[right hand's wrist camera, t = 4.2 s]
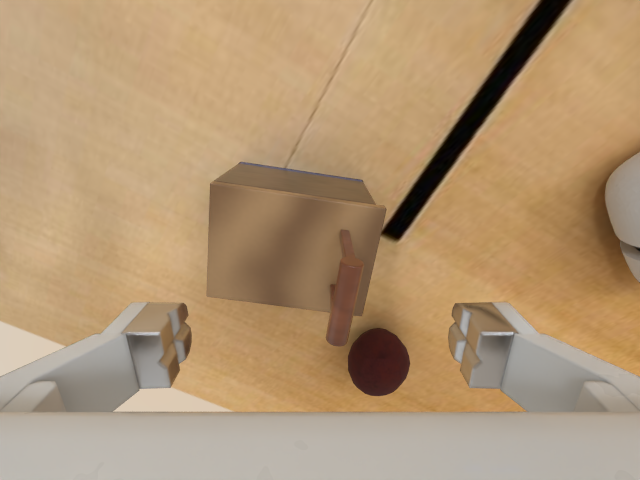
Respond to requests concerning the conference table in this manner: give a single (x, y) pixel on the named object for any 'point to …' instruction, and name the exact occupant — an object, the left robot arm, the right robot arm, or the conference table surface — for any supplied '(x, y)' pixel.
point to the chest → (297, 182)
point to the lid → (292, 251)
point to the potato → (378, 362)
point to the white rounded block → (626, 210)
